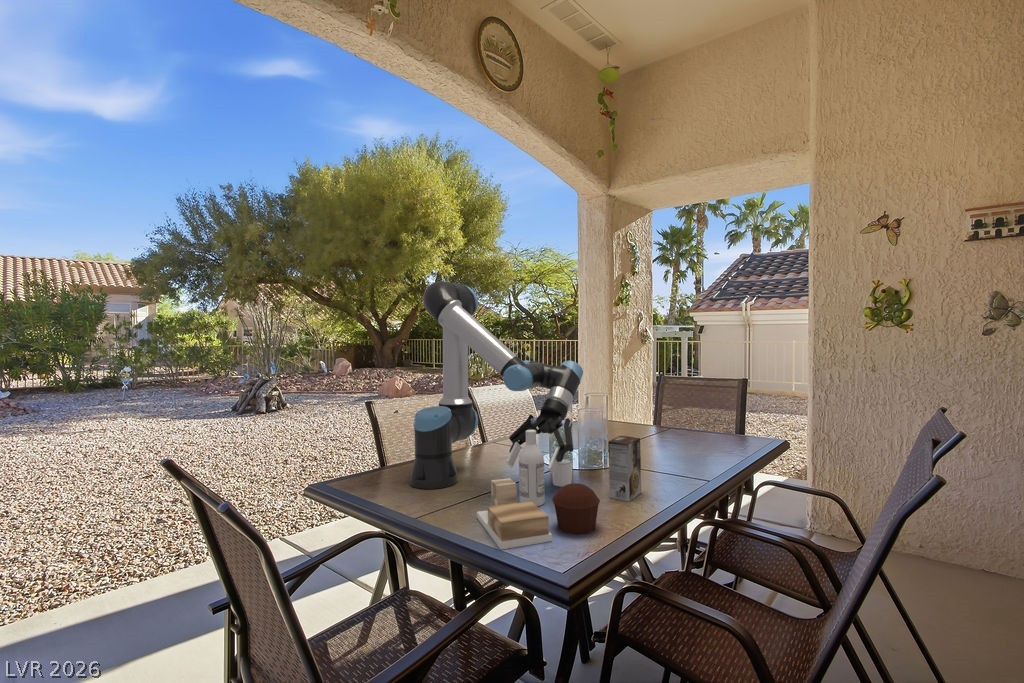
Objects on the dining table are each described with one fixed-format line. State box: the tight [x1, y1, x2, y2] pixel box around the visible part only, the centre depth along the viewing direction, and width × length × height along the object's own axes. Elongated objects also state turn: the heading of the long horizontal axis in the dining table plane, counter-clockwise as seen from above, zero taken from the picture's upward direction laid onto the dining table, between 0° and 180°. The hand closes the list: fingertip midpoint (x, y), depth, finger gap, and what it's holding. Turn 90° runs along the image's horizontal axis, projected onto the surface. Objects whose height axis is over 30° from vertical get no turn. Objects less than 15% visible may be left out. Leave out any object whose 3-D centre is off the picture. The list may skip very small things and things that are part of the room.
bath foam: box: [518, 430, 546, 507], centre depth 133 cm, size 7×7×20 cm
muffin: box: [551, 482, 601, 536], centre depth 115 cm, size 12×11×10 cm
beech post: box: [490, 477, 518, 506], centre depth 121 cm, size 5×5×8 cm
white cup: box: [551, 458, 574, 488], centre depth 150 cm, size 7×7×7 cm
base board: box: [476, 509, 553, 550], centre depth 115 cm, size 20×12×2 cm, turn 19°
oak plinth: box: [487, 501, 550, 541], centre depth 111 cm, size 11×11×4 cm
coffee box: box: [607, 435, 642, 502], centre depth 138 cm, size 9×6×16 cm
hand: (529, 467), depth 131 cm, fingers open, 13 cm apart
